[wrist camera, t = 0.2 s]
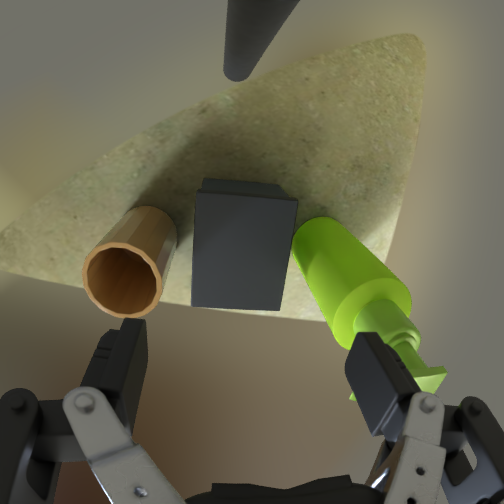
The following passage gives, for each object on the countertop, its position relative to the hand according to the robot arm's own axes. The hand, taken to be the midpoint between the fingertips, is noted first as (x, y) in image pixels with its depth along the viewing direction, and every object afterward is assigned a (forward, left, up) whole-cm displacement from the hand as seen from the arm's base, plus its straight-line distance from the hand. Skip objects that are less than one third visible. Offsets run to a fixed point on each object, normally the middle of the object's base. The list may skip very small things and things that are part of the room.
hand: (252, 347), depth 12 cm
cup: (+3, -8, -20) cm, 21 cm away
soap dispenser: (+3, +8, -20) cm, 22 cm away
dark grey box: (+2, +1, -20) cm, 20 cm away
